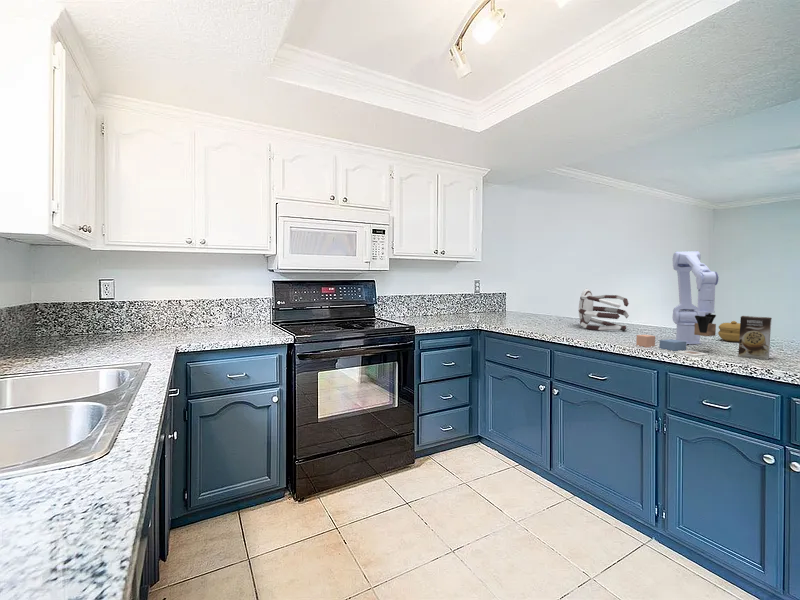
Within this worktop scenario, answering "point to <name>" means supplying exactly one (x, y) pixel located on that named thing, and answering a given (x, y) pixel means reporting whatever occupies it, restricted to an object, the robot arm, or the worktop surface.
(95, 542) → the worktop surface
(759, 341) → the coffee box
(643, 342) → the peach block
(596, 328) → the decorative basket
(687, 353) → the card
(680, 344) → the blue block
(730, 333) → the pot
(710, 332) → the walnut block
